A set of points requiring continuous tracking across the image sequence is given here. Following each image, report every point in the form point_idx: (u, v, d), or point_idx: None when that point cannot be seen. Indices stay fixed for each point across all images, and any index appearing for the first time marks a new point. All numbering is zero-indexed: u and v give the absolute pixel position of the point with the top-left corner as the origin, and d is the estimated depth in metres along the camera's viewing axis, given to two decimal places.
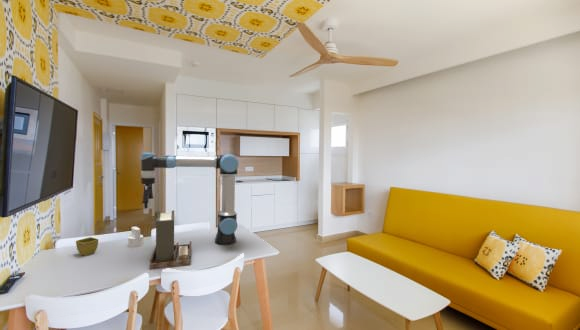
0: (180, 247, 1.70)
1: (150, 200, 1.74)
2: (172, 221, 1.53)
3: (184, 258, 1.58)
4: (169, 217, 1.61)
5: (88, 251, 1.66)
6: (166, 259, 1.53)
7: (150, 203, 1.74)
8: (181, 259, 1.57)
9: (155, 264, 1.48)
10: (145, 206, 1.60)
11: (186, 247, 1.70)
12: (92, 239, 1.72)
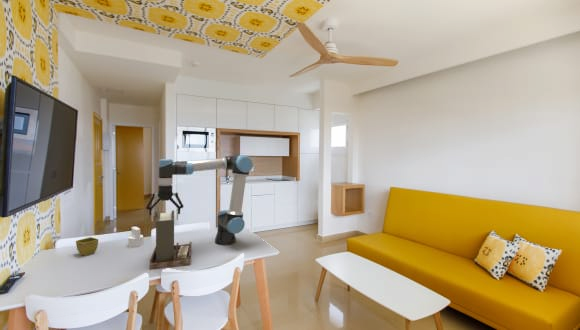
0: (181, 247, 1.70)
1: None
2: (172, 221, 1.53)
3: (184, 258, 1.58)
4: (169, 217, 1.61)
5: (88, 251, 1.66)
6: (166, 259, 1.53)
7: None
8: (181, 259, 1.57)
9: (155, 264, 1.48)
10: None
11: (187, 247, 1.70)
12: (92, 239, 1.72)
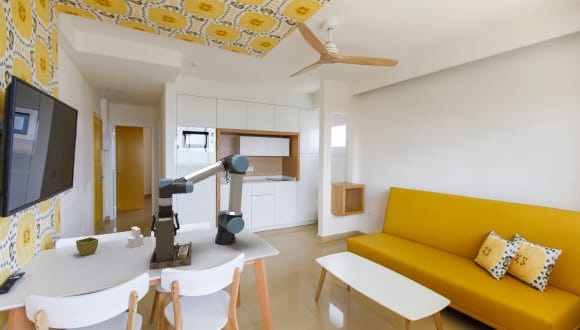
0: (181, 247, 1.70)
1: None
2: (171, 221, 1.53)
3: (183, 258, 1.58)
4: None
5: (88, 251, 1.66)
6: (166, 259, 1.53)
7: None
8: (180, 259, 1.57)
9: (155, 264, 1.48)
10: (154, 234, 1.60)
11: (187, 247, 1.70)
12: (92, 239, 1.72)
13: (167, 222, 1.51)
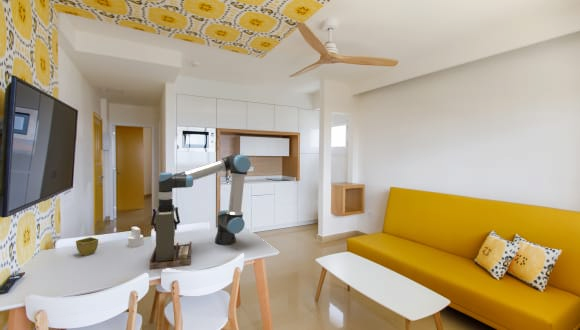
0: (181, 247, 1.70)
1: None
2: (172, 215, 1.52)
3: (183, 258, 1.58)
4: None
5: (88, 251, 1.66)
6: (166, 253, 1.52)
7: None
8: (180, 259, 1.57)
9: (155, 264, 1.48)
10: None
11: (187, 247, 1.70)
12: (92, 239, 1.72)
13: (167, 216, 1.51)
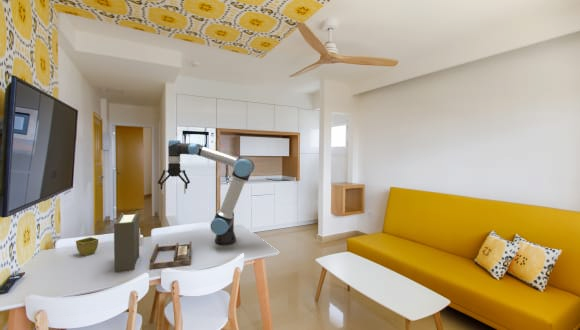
0: (179, 247, 1.70)
1: (184, 185, 1.85)
2: (132, 223, 1.46)
3: (183, 258, 1.58)
4: (131, 219, 1.54)
5: (88, 251, 1.66)
6: (125, 263, 1.46)
7: (184, 188, 1.85)
8: (180, 259, 1.57)
9: (155, 264, 1.48)
10: None
11: (185, 247, 1.70)
12: (92, 239, 1.72)
13: (127, 225, 1.45)
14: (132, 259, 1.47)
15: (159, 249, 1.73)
